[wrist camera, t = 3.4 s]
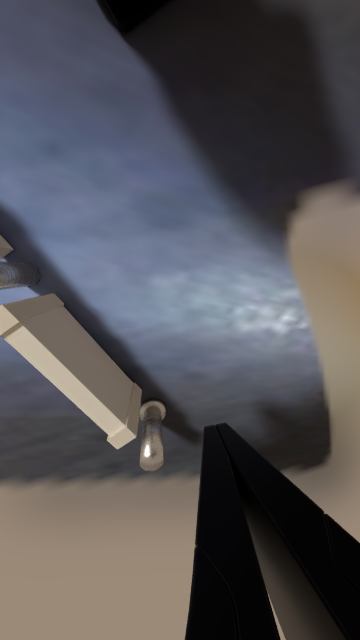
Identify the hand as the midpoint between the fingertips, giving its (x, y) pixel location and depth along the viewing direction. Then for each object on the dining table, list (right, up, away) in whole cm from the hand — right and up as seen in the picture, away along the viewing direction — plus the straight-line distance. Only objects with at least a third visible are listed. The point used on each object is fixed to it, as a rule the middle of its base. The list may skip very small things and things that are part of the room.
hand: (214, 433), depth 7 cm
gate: (-8, +2, +8) cm, 11 cm away
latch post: (-4, -4, +11) cm, 12 cm away
